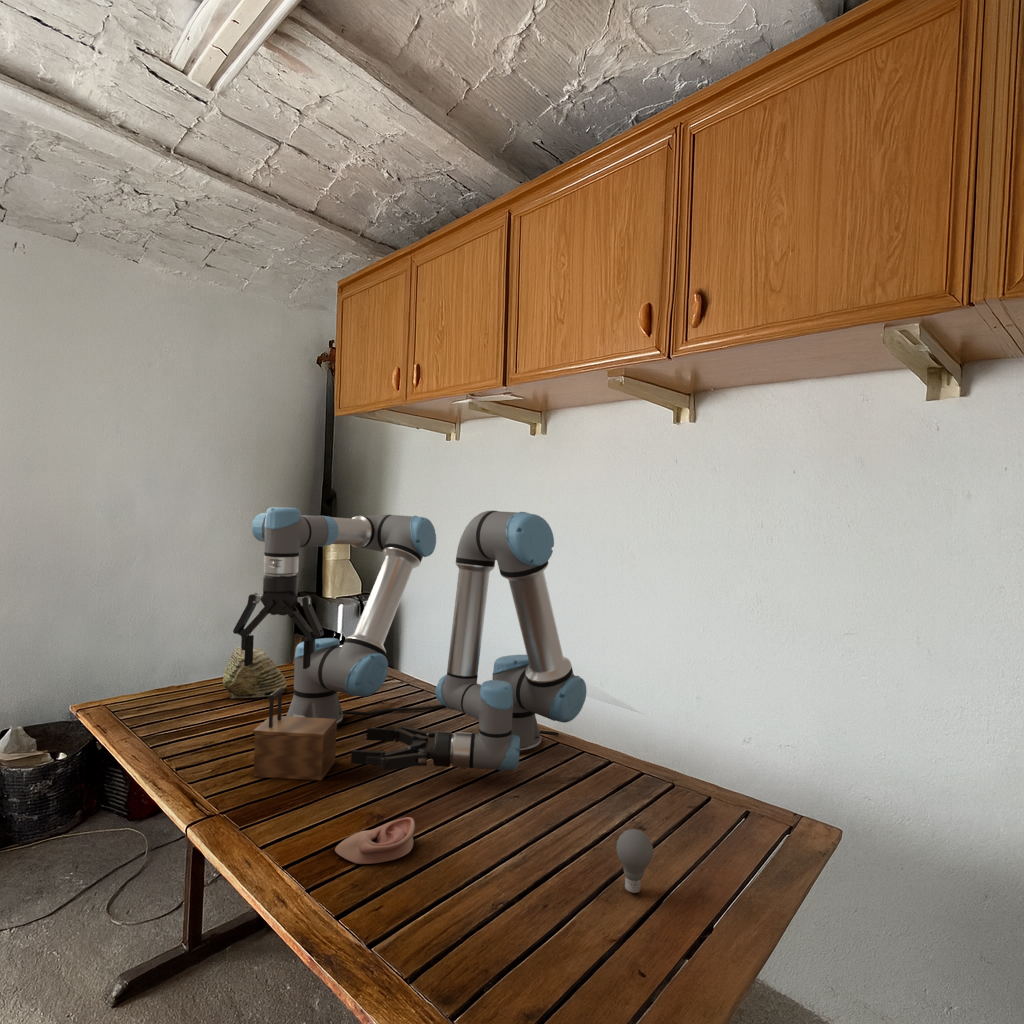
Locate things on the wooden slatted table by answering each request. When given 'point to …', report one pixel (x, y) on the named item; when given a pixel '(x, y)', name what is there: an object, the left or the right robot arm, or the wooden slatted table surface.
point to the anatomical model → (379, 843)
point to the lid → (292, 722)
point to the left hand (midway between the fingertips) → (277, 666)
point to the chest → (294, 756)
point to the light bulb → (634, 857)
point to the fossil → (252, 675)
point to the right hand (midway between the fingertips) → (359, 744)
